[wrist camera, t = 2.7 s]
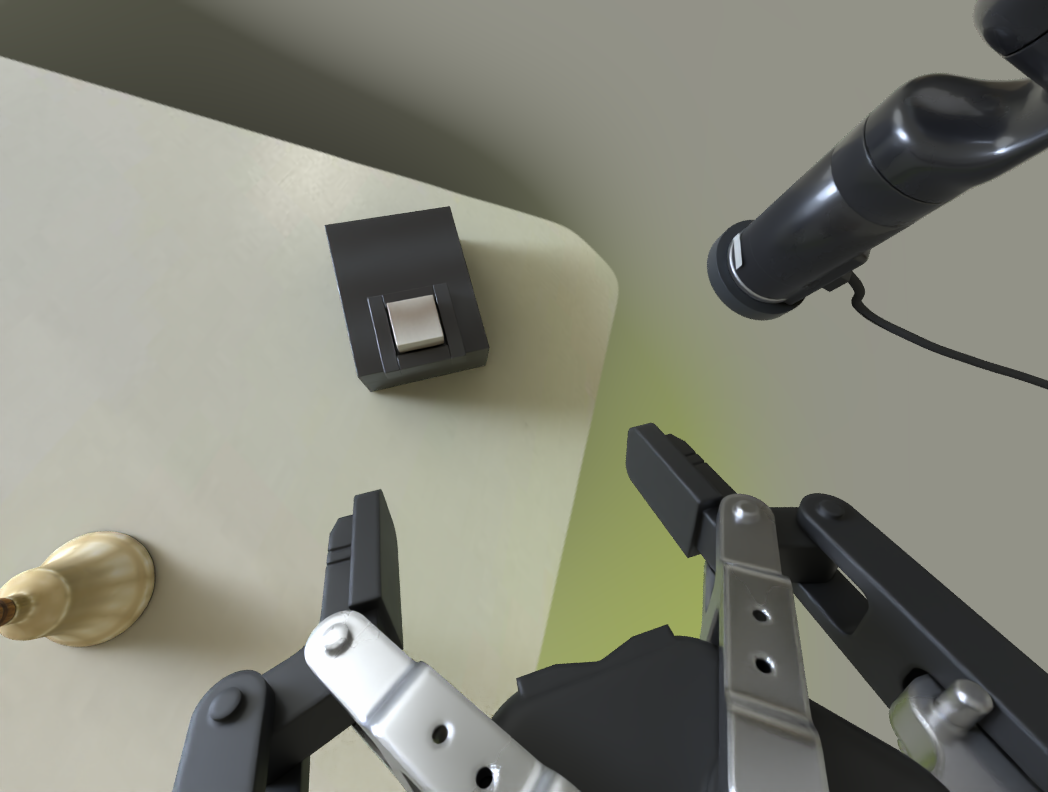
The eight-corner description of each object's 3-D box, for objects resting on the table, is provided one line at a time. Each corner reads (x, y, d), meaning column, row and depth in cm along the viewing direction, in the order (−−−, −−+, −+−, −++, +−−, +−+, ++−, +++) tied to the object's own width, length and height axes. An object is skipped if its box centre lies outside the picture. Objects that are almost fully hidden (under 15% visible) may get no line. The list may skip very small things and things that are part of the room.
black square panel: (487, 372, 42) (493, 349, 35) (371, 399, 40) (354, 380, 33) (450, 238, 44) (449, 192, 38) (340, 256, 42) (317, 211, 35)
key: (444, 343, 35) (443, 336, 33) (399, 353, 34) (396, 346, 33) (433, 303, 36) (432, 294, 34) (389, 312, 35) (386, 302, 33)
